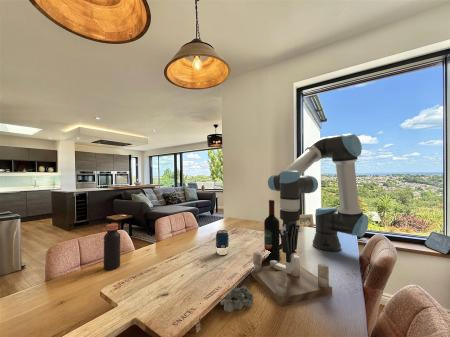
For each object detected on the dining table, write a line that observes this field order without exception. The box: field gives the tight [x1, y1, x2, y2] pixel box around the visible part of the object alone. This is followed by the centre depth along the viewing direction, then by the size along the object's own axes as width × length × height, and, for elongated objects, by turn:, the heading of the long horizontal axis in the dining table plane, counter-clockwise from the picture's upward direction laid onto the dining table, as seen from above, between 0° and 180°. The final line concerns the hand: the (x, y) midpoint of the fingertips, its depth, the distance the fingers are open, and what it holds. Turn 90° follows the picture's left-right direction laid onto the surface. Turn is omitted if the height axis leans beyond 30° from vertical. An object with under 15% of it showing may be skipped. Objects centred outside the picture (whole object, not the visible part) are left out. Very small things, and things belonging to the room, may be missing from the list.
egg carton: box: [220, 285, 255, 313], centre depth 69 cm, size 11×8×4 cm
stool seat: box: [250, 251, 333, 307], centre depth 82 cm, size 23×23×10 cm
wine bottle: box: [263, 199, 281, 263], centre depth 104 cm, size 8×8×30 cm
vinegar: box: [103, 222, 121, 271], centre depth 96 cm, size 7×7×20 cm
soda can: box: [215, 229, 230, 248], centre depth 112 cm, size 7×7×12 cm
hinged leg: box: [269, 254, 301, 277], centre depth 86 cm, size 13×4×7 cm, turn 45°
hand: (289, 269), depth 80 cm, fingers closed
